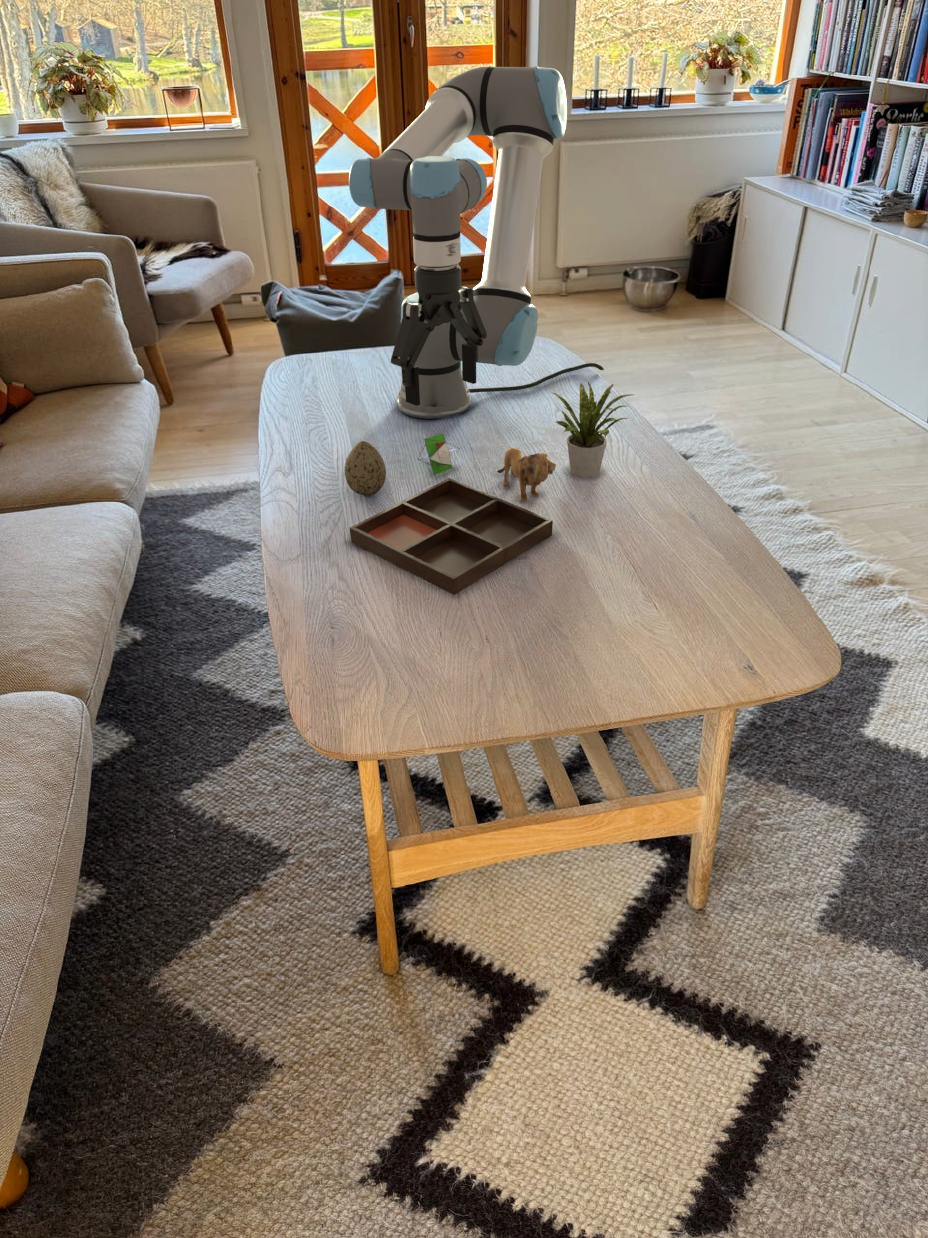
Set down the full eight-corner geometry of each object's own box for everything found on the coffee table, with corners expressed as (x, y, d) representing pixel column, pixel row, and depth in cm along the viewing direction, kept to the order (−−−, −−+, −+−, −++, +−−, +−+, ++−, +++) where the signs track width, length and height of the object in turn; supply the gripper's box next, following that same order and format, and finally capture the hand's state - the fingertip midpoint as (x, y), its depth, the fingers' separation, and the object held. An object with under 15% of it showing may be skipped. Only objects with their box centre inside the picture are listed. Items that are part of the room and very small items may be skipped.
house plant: (647, 478, 169) (656, 390, 159) (586, 498, 163) (591, 409, 153) (597, 449, 179) (602, 366, 169) (537, 468, 173) (539, 382, 163)
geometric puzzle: (406, 454, 174) (420, 430, 167) (437, 444, 177) (451, 420, 170) (426, 486, 172) (440, 464, 166) (456, 475, 176) (471, 453, 169)
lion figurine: (558, 501, 162) (560, 453, 157) (534, 510, 160) (535, 462, 155) (508, 470, 172) (509, 424, 167) (484, 478, 170) (484, 432, 165)
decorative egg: (382, 482, 170) (378, 430, 164) (392, 499, 164) (388, 446, 158) (343, 488, 168) (337, 436, 162) (352, 506, 162) (346, 453, 157)
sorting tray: (449, 491, 166) (449, 477, 164) (552, 535, 153) (552, 520, 151) (350, 542, 152) (349, 527, 151) (454, 595, 139) (453, 579, 138)
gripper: (395, 285, 141) (403, 418, 153) (507, 253, 156) (506, 377, 168) (362, 276, 146) (372, 406, 158) (475, 246, 160) (476, 368, 172)
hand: (441, 392), depth 163 cm, fingers open, 13 cm apart
